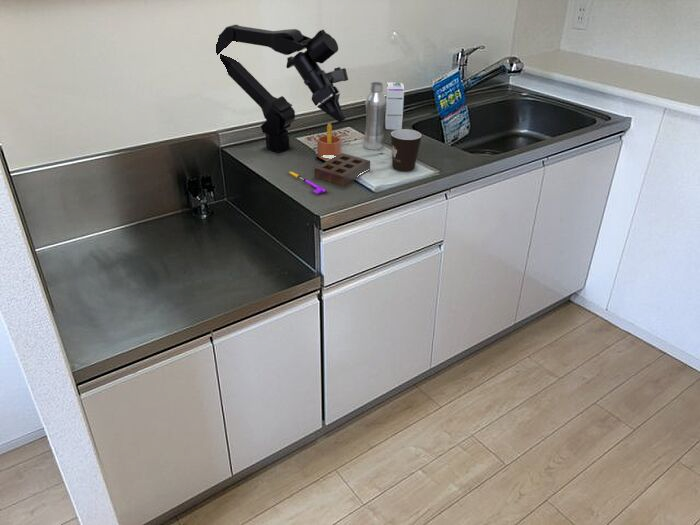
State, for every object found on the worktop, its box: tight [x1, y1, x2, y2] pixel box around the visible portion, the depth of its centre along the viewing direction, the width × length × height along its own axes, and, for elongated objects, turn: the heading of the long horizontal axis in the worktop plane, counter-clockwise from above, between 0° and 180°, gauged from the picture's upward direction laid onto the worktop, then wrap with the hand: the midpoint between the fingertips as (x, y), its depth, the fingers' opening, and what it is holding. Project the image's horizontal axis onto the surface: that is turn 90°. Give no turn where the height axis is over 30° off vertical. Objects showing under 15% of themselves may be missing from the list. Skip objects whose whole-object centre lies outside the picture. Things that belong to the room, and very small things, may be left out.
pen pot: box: [317, 134, 342, 161], centre depth 168 cm, size 7×7×6 cm
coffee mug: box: [390, 128, 422, 173], centre depth 162 cm, size 12×9×10 cm
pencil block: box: [313, 152, 371, 188], centre depth 157 cm, size 10×14×4 cm
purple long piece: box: [288, 170, 327, 195], centre depth 152 cm, size 3×1×16 cm
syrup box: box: [384, 81, 405, 131], centre depth 189 cm, size 6×6×14 cm
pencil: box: [326, 121, 333, 143], centre depth 166 cm, size 1×1×10 cm
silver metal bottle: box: [362, 81, 386, 151], centre depth 170 cm, size 6×7×20 cm
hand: (342, 120), depth 159 cm, fingers open, 9 cm apart
